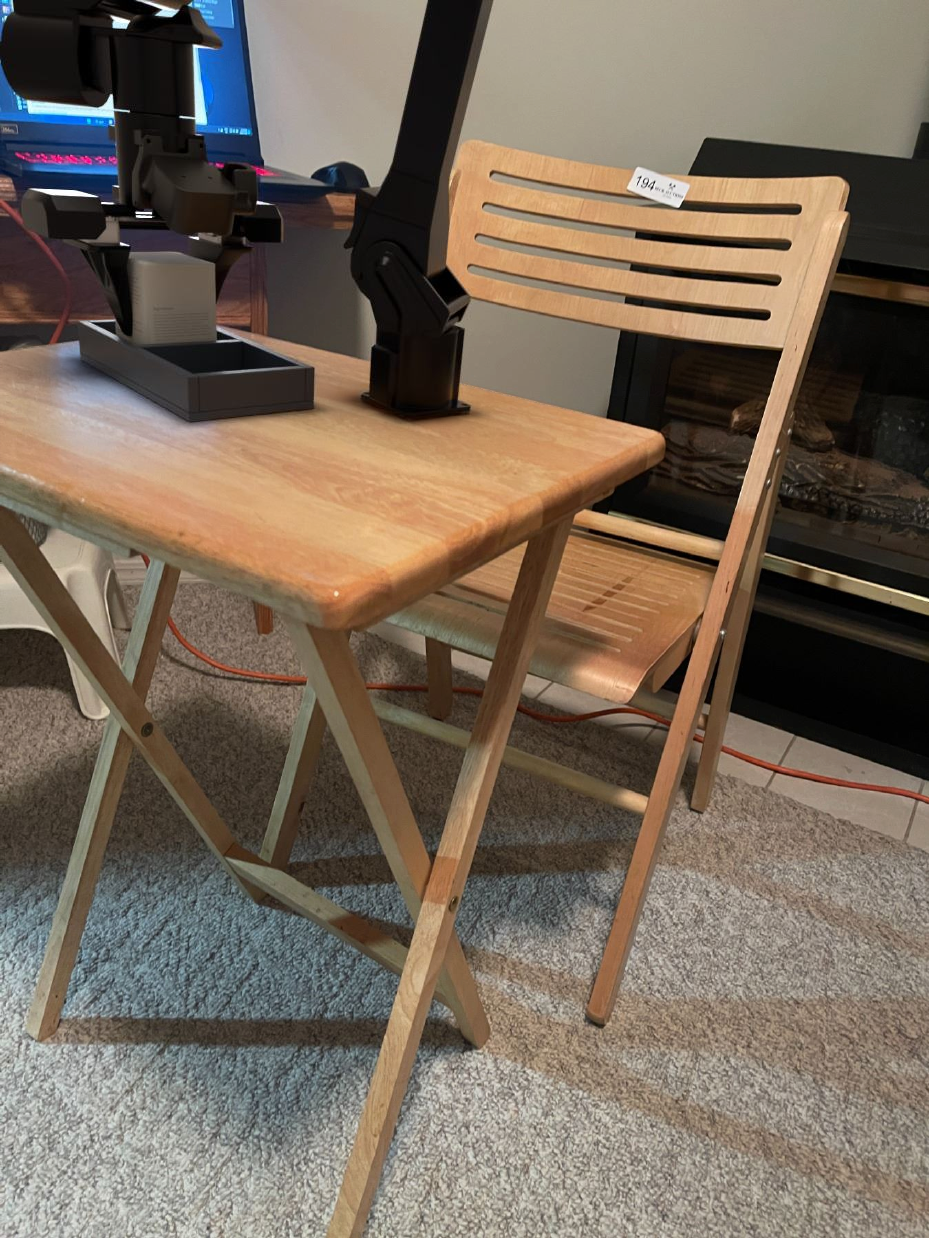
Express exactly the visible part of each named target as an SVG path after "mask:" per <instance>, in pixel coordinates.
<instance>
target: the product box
mask: <svg viewBox="0 0 929 1238" xmlns="http://www.w3.org/2000/svg"><path fill="white" fill-rule="evenodd" d="M127 273H128V281H129V289H130V298H131V306H132V314H133V333H132V336H126V335H124V334H123V333H122V331H121V329H120V327H119V325H118V322H117V320H116V318H115V317H114V320H115V326H116V336H118V337H120V338H122V339H124V340H126V341H128V342H130V343H132V344H134V345H142V344H162V343H181V342H200V341H217V328H216V327H217V304H216V290H215V264H214V263H211V262H208V261H204V260H201V259H198V258H194V257H191V256H190V255H188V254H185V253H182V252H179V251H130V255H129V259H128V263H127Z"/></svg>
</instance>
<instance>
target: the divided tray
mask: <svg viewBox="0 0 929 1238" xmlns="http://www.w3.org/2000/svg"><path fill="white" fill-rule="evenodd" d="M76 323H77V335H78V345H79V359H80V360H81V361H82V362H84V363H86V364H88V365H89V366H92V367H93V368H94V369H96V370H99V372H101V373H103V374H105V375H107V376H109V377H111V378H112V379H114V380H116V381H118V382H119V383H121V384H123V385H124V386H126V387H128V388H129V389H132V391H135V392H137V393H138V394H139V395H142V396H144V397H145V398H147V399H149V400H151V401H152V402H154V403H156V404H158V405H159V406H161V407H163V408H164V409H167V410H168V411H170V412H171V413H173V414H175V415H177V416H178V417H181V418H182V419H184V420H185V421H187V422H189V423H192V422H201V421H202V422H203V421H209V420H210V421H211V420H219V419H228V418H237V417H248V416H257V415H267V414H273V413H274V414H276V413H284V412H292V411H302V410H312V409H315V370H316V369H315V366H312V365H310V364H307V363H305V362H303V361H301V360H298V359H295V358H293V357H291V356H289V355H286V354H283V353H281V352H279V351H276V350H274V349H271V348H269V347H267V346H264V345H261V344H260V343H257V342H254V341H253V340H250V339H247V338H244V337H242V336H240V335H238V334H235V333H233V332H230V331H228V330H225V329H223V328H220V327H218V326H216V328H217V341H200V342H181V343H162V344H142V345H134V344H132V343H130V342H128V341H126V340H124V339H122V338H120V337H118V336H116V326H115V319H93V320H91V319H90V320H77V322H76Z"/></svg>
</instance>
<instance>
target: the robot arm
mask: <svg viewBox="0 0 929 1238" xmlns="http://www.w3.org/2000/svg"><path fill="white" fill-rule="evenodd" d="M194 1H195V0H12V10H13V11H11V12H10V13H9V14H8V15H7V16H6V18H5V20H4V22H3V24H2V29H1V34H0V66H1V69H2V72H3V74H4V77H5V80H6V81H7V84H8V85H9V87H10V88H11V90H12V91H13V92H14V93H15V94H16V96H17V97H19V98H21V99H22V100H24V101H28V102H29V101H30V102H37V103H46V104H57V105H65V106H66V105H67V106H75V107H85V108H93V109H94V108H95V109H99V108H101V107H104V105H106V103H107V102H108V100H109V99H110V97H111V95H112V105H113V106H112V107H113V122H114V124H113V125H112V124H108V125H107V133H108V140H109V141H112V142H115V153H116V154H115V155H116V170H117V183H118V184H117V185H111V191H112V192H111V193H112V200H113V201H115V202H102V200H101V198H100V196H97V195H93V194H89V193H86V192H83V191H80V190H79V191H78V190H69V189H48V188H28V189H27V190H26V191H25V193H24V194H23V196H22V198H21V202H20V211H21V219H22V229H23V230H26V231H28V232H31V233H34V234H37V235H40V236H42V237H44V238H48V239H54V240H63V243H64V244H67V245H70V246H72V247H75V248H78V250H79V252H80V253H81V255H82V257H83V258H84V261H85V262H86V263H87V265H88V266H89V269H90V270H91V271H92V274H93V275H94V277H95V278H96V280H97V283H98V285H99V287H100V288H101V291H102V293H103V295H104V297H105V300H106V301H107V303H108V305H109V308H110V310H111V312H112V314H113V315H114V319H115V318H116V320H117V322H118V325H119V327H120V329H121V331H122V333H123V334H124V335H126V336H132V333H133V314H132V306H131V298H130V289H129V281H128V273H127V263H128V259H129V255H130V252H131V250H132V246H131V245H129V244H126V243H123V242H121V233H120V232H121V231H120V230H133V231H134V230H137V231H138V230H139V231H172V232H174V233H176V234H178V235H182V236H188V250H189V251H188V252H189V256H191V257H194V258H198V259H201V260H204V261H208V262H211V263H214V264H215V290H216V305H217V303H218V301H219V297H220V295H221V291H222V288H223V286H224V283H225V281H226V279H227V277H228V275H229V272H230V270H231V269H232V267H233V265H234V264H235V263H236V262H237V261H238V260H239V259H240V258H241V257H242V256H243V255H247V254H248V255H249V254H252V253H253V251H254V248H255V247H254V246H251V245H249V244H246V239H247V241H248V242H250V243H255V244H257V243H258V244H259V243H260V244H263V243H267V244H282V243H284V229H285V228H284V225H285V224H284V221H285V220H284V219H283V216H282V213H281V212H280V209H278V207H277V205H276V204H274V203H268V202H264V201H259V200H258V199H259V191H258V190H259V188H258V174H257V170H256V169H255V168H254V167H253V166H252V165H251V163H248V162H238V161H237V162H235V161H226V162H225V163H224V164H223V166H215V165H211V164H210V162H209V159H208V156H207V143H206V142H205V135H203V134H197V126H196V122H197V121H196V94H195V93H196V91H195V90H196V89H195V62H194V61H195V60H194V59H195V58H194V48H199V49H208V50H209V49H210V50H221V49H222V48H223V46H224V43H223V40H222V38H221V37H220V36H219V35H218V34H217V33H216V32H215V31H214V29H212V28H211V26H210V25H209V24H208V23H207V22H206V20H205V18H204V17H203V15H202V12H201V11H200V9H199V8H196V7H194V6H190V4H192V3H193V2H194ZM494 1H495V0H427V2H426V7H425V11H424V16H423V20H422V24H421V29H420V34H419V38H418V43H417V46H416V52H415V57H414V60H413V66H412V69H411V75H410V79H409V83H408V88H407V93H406V98H405V102H404V107H403V111H402V115H401V120H400V125H399V130H398V133H397V139H396V143H395V147H394V151H393V156H392V161H391V164H390V166H389V169H388V172H387V173H386V175H385V177H384V179H383V180H382V183H381V185H380V186H371V187H359V188H357V190H356V191H355V199H354V207H353V208H354V209H353V222H352V227H351V230H350V232H349V236H348V237H347V239H346V240H345V242H344V243H343V249H345V250H349V249H351V253H350V259H349V269H350V275H351V278H352V279H353V280H354V282H355V285H356V286H357V289H359V291H360V293H361V294H362V295H363V296H364V297H365V298H366V299H368V300H369V303H370V307H371V311H372V314H373V318H374V321H375V326H376V329H375V343H373V344H372V345H371V349H370V364H369V366H370V367H369V380H368V381H369V384H368V391H361V392H360V399H361V400H362V401H365V402H367V403H370V404H372V405H374V406H376V407H379V408H381V409H384V410H385V411H388V412H390V413H392V414H395V415H398V416H400V417H402V418H404V419H410V420H413V419H421V418H428V417H435V416H437V417H438V416H443V415H445V416H446V415H452V414H460V413H468V412H469V413H470V412H471V411H472V405H471V404H469V403H467V402H464V401H462V400H459V397H460V396H459V395H460V384H461V376H462V375H461V374H462V363H463V352H464V344H465V343H464V342H465V332H466V328H465V327H463V326H459V325H456V324H458V323H460V322H462V320H463V318H464V316H465V315H466V312H467V310H468V307H469V305H470V304H471V301H472V296H471V295H470V293H469V292H468V290H467V289H465V287H464V286H463V284H462V283H461V282H460V281H459V279H458V277H457V276H456V275H455V274H454V272H453V271H452V270H451V269H450V268H449V266H448V264H447V257H448V247H449V236H450V223H451V222H450V220H451V219H450V180H451V179H450V178H451V174H452V169H453V165H454V161H455V158H456V154H457V149H458V146H459V141H460V138H461V134H462V129H463V125H464V122H465V117H466V114H467V109H468V106H469V101H470V97H471V93H472V89H473V85H474V82H475V77H476V73H477V69H478V65H479V62H480V61H479V60H480V56H481V52H482V48H483V46H484V40H485V37H486V32H487V28H488V25H489V20H490V18H491V17H490V16H491V12H492V8H493V4H494ZM163 10H164V11H177V12H176V13H175V14H173V15H172V16H166V15H165V16H164V15H158V14H159V13H160V12H161V11H163ZM114 22H119V23H123V24H127V26H126V27H125V28H124V27H123V28H122V27H121V28H120V27H114ZM145 210H150V211H151V212H145ZM195 234H197V236H194V235H195Z"/></svg>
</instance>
